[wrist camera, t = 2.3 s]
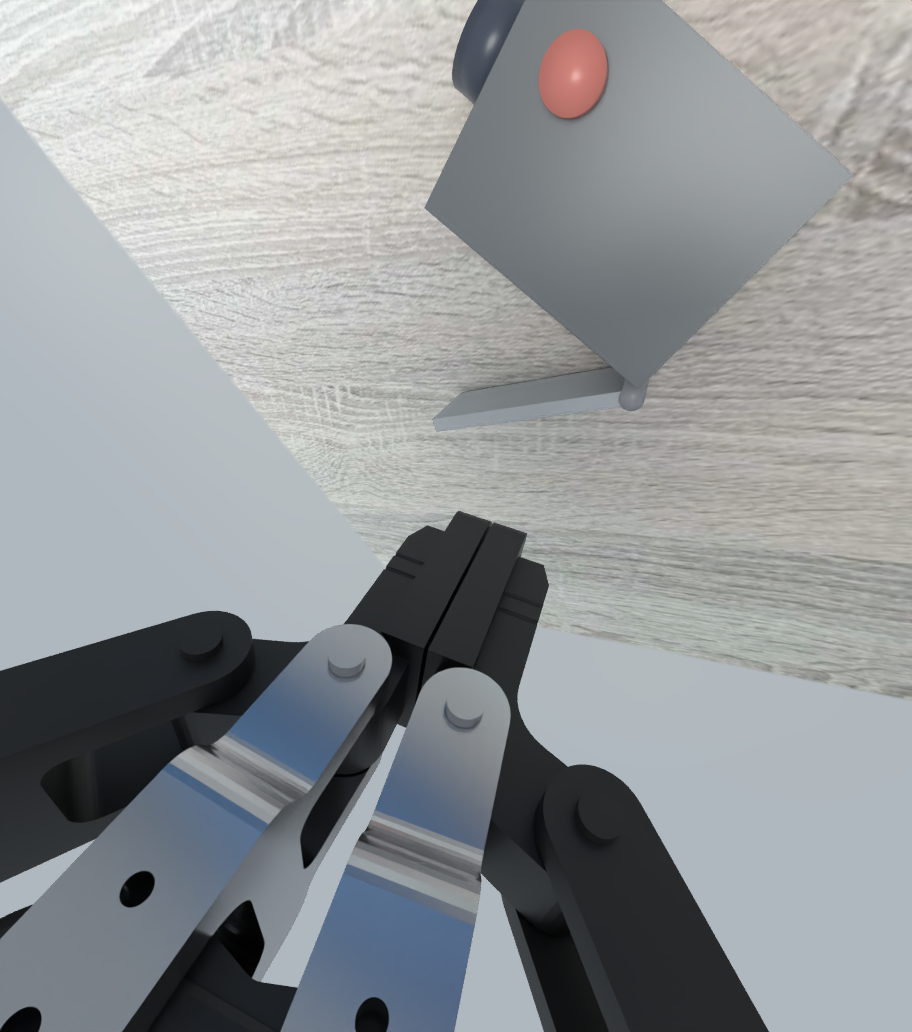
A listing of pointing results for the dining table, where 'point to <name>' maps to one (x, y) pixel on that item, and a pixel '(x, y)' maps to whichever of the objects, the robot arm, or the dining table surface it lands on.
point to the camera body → (621, 170)
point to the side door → (541, 399)
